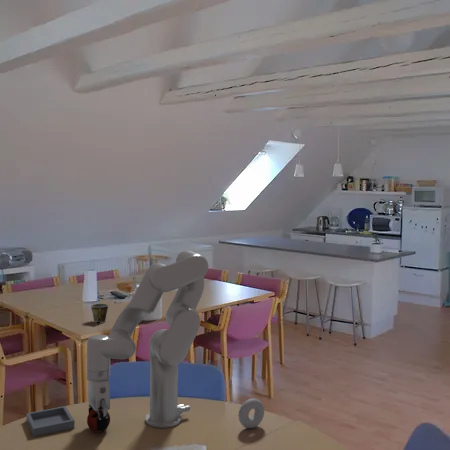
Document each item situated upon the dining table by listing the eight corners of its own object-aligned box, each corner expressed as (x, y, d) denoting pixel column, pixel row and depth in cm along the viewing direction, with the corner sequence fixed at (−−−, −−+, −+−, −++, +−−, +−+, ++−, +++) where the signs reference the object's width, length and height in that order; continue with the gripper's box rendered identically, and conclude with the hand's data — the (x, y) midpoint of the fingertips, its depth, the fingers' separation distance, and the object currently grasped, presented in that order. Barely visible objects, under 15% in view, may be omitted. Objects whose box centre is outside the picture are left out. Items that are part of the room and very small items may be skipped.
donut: (260, 422, 177) (261, 394, 177) (266, 426, 174) (266, 397, 174) (236, 428, 172) (236, 400, 171) (241, 433, 169) (242, 403, 169)
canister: (165, 318, 319) (166, 287, 317) (141, 321, 311) (141, 289, 309) (155, 313, 332) (156, 282, 331) (132, 315, 324) (132, 284, 323)
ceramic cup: (90, 320, 311) (90, 304, 311) (107, 319, 314) (107, 303, 314) (91, 325, 299) (91, 308, 298) (109, 324, 302) (109, 307, 301)
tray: (65, 413, 182) (65, 405, 181) (74, 427, 170) (74, 420, 170) (26, 420, 175) (26, 413, 175) (33, 436, 164) (33, 428, 164)
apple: (81, 432, 167) (81, 409, 167) (97, 423, 174) (97, 400, 174) (99, 438, 164) (99, 413, 163) (114, 428, 171) (115, 405, 170)
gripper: (118, 380, 162) (117, 432, 163) (101, 363, 177) (100, 412, 178) (94, 384, 158) (93, 437, 159) (80, 367, 173) (79, 416, 174)
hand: (97, 424), depth 169 cm, fingers open, 9 cm apart
